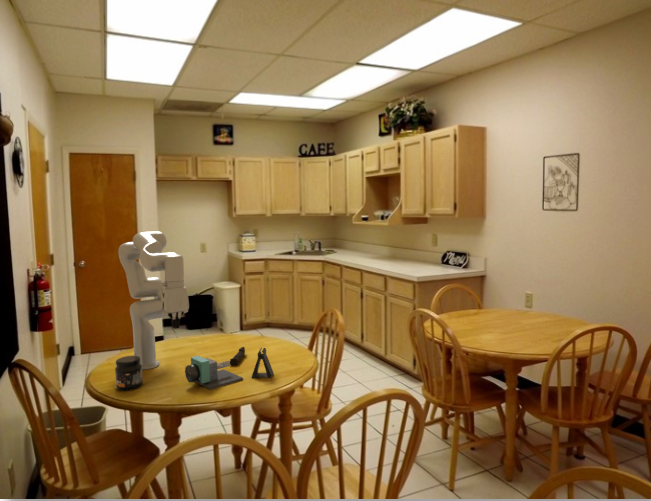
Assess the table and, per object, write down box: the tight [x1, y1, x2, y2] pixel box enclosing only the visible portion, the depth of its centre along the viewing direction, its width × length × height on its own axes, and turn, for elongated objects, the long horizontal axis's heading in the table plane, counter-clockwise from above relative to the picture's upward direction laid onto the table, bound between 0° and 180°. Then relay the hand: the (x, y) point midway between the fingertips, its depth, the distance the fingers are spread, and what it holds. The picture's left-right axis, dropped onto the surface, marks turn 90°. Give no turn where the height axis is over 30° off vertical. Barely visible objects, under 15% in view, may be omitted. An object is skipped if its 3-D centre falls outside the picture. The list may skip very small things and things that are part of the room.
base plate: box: [193, 368, 244, 391], centre depth 204 cm, size 16×16×1 cm
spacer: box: [190, 355, 210, 384], centre depth 198 cm, size 9×4×9 cm, turn 44°
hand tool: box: [229, 346, 246, 367], centre depth 231 cm, size 19×4×5 cm, turn 172°
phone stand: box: [251, 347, 274, 379], centre depth 208 cm, size 9×6×12 cm, turn 88°
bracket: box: [205, 357, 219, 384], centre depth 201 cm, size 8×4×8 cm, turn 44°
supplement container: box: [114, 355, 144, 392], centre depth 197 cm, size 10×10×12 cm
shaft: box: [184, 360, 231, 384], centre depth 201 cm, size 7×19×7 cm, turn 134°
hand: (175, 327), depth 196 cm, fingers closed
